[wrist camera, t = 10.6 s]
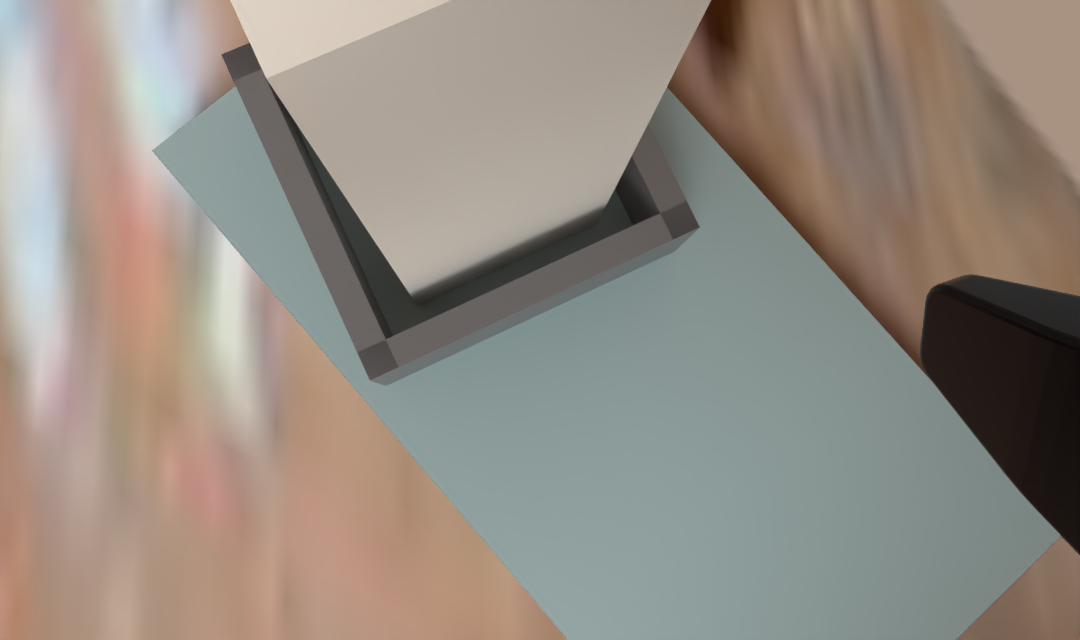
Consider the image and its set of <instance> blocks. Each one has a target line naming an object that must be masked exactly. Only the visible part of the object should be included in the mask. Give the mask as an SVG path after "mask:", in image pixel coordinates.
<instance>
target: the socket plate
mask: <svg viewBox="0 0 1080 640" xmlns="http://www.w3.org/2000/svg"><path fill="white" fill-rule="evenodd" d="M222 57H223V59H224V61H225V63H226V66H227V68H228V70H229V72H230V74H231V77H232V79H233V81H234V83H235V85H236V86H235V87H233V88H232V89H231V90H230V91H228V92H227V93H226V94H224V95H223V96H222V97H221V98H219V99H218V100H217V101H215V102H214V103H213V104H212V105H210V106H209V107H208V108H206V109H205V110H204V111H202V112H201V113H200V114H199V115H197V116H196V117H195V118H193V119H192V120H191V121H190V122H188V123H187V124H186V125H184V126H183V127H182V128H181V129H179V130H178V131H177V132H175V133H174V134H173V135H172V136H170V137H169V138H168V139H166V140H165V141H164V142H163V143H161V144H160V145H159V146H157V147H156V148H155V149H154V150H152V151H153V152H154V153H155V155H156V156H157V157H158V158H159V159H160V161H161V162H162V163H163V164H164V165H165V166H166V168H167V169H168V170H169V171H170V172H171V173H172V175H173V176H174V177H175V178H176V179H177V181H178V182H179V183H180V184H181V185H182V186H183V188H184V189H185V190H186V191H187V192H188V193H189V195H190V196H191V197H192V198H193V199H194V201H195V202H196V203H197V204H198V205H199V206H200V208H201V209H202V210H203V211H204V212H205V213H206V215H207V216H208V217H209V218H210V219H211V221H212V222H213V223H214V224H215V225H216V226H217V228H218V229H219V230H220V231H221V232H222V233H223V235H224V236H225V237H226V238H227V239H228V241H229V242H230V243H231V244H232V245H233V246H234V248H235V249H236V250H237V251H238V252H239V253H240V255H241V256H242V257H243V258H244V259H245V261H246V262H247V263H248V264H249V265H250V266H251V268H252V269H253V270H254V271H255V272H256V273H257V275H258V276H259V277H260V278H261V279H262V281H263V282H264V283H265V284H266V285H267V286H268V288H269V289H270V290H271V291H272V292H273V293H274V295H275V296H276V297H277V298H278V299H279V301H280V302H281V303H282V304H283V305H284V306H285V308H286V309H287V310H288V311H289V312H290V313H291V315H292V316H293V317H294V318H295V319H296V321H297V322H298V323H299V324H300V325H301V326H302V328H303V329H304V330H305V331H306V332H307V333H308V335H309V336H310V337H311V338H312V339H313V341H314V342H315V343H316V344H317V345H318V346H319V348H320V349H321V350H322V351H323V352H324V353H325V355H326V356H327V357H328V358H329V359H330V361H331V362H332V363H333V364H334V365H335V366H336V368H337V369H338V370H339V371H340V372H341V373H342V375H343V376H344V377H345V378H346V379H347V381H348V382H349V383H350V384H351V385H352V386H353V388H354V389H355V390H356V391H357V392H358V393H359V395H360V396H361V397H362V398H363V399H364V401H365V402H366V403H367V404H368V405H369V406H370V408H371V409H372V410H373V411H374V412H375V413H376V415H377V416H378V417H379V418H380V419H381V421H382V422H383V423H384V424H385V425H386V426H387V428H388V429H389V430H390V431H391V432H392V433H393V435H394V436H395V437H396V438H397V439H398V441H399V442H400V443H401V444H402V445H403V446H404V448H405V449H406V450H407V451H408V452H409V453H410V455H411V456H412V457H413V458H414V459H415V461H416V462H417V463H418V464H419V465H420V466H421V468H422V469H423V470H424V471H425V472H426V473H427V475H428V476H429V477H430V478H431V479H432V481H433V482H434V483H435V484H436V485H437V486H438V488H439V489H440V490H441V491H442V492H443V493H444V495H445V496H446V497H447V498H448V499H449V501H450V502H451V503H452V504H453V505H454V506H455V508H456V509H457V510H458V511H459V512H460V513H461V515H462V516H463V517H464V518H465V519H466V521H467V522H468V523H469V524H470V525H471V526H472V528H473V529H474V530H475V531H476V532H477V533H478V535H479V536H480V537H481V538H482V539H483V541H484V542H485V543H486V544H487V545H488V546H489V548H490V549H491V550H492V551H493V552H494V553H495V555H496V556H497V557H498V558H499V559H500V561H501V562H502V563H503V564H504V565H505V566H506V568H507V569H508V570H509V571H510V572H511V573H512V575H513V576H514V577H515V578H516V579H517V581H518V582H519V583H520V584H521V585H522V586H523V588H524V589H525V590H526V591H527V592H528V593H529V595H530V596H531V597H532V598H533V599H534V601H535V602H536V603H537V604H538V605H539V606H540V608H541V609H542V610H543V611H544V612H545V613H546V615H547V616H548V617H549V618H550V619H551V621H552V622H553V623H554V624H555V625H556V626H557V628H558V629H559V630H560V631H561V632H562V633H563V635H564V636H565V637H566V638H567V639H568V640H956V639H957V638H958V637H959V636H960V635H961V634H962V633H963V632H964V631H965V630H966V629H967V628H968V627H969V626H970V625H971V624H972V623H973V622H974V621H975V620H976V619H977V618H978V617H979V616H980V615H981V614H982V613H983V612H984V611H985V610H986V609H987V608H988V607H989V606H990V605H992V604H993V603H994V602H995V601H996V600H997V599H998V598H999V597H1000V596H1001V595H1002V594H1003V593H1004V592H1005V591H1006V590H1007V589H1008V588H1009V587H1010V586H1011V585H1012V584H1013V583H1014V582H1015V581H1016V580H1017V579H1018V578H1019V577H1020V576H1021V575H1022V574H1023V573H1024V572H1025V571H1026V570H1027V569H1028V568H1029V567H1030V566H1031V565H1032V564H1033V563H1034V562H1035V561H1036V560H1037V559H1038V558H1039V557H1040V556H1041V555H1042V554H1043V553H1044V552H1045V551H1046V550H1047V549H1048V548H1049V547H1050V546H1051V545H1052V544H1053V543H1054V542H1055V541H1056V540H1057V539H1058V538H1059V537H1060V536H1061V535H1060V534H1059V533H1058V532H1057V531H1056V530H1055V529H1054V528H1053V527H1052V526H1051V525H1050V524H1049V523H1048V522H1047V521H1046V520H1045V519H1044V517H1043V516H1042V515H1041V514H1040V513H1039V512H1038V511H1037V510H1036V509H1035V508H1034V507H1033V506H1032V505H1031V504H1030V503H1029V501H1028V500H1027V499H1026V498H1025V497H1024V496H1023V495H1022V494H1021V493H1020V492H1019V490H1018V489H1017V488H1016V487H1015V486H1014V484H1013V483H1012V482H1011V481H1010V480H1009V478H1008V477H1007V476H1006V475H1005V474H1004V472H1003V471H1002V470H1001V469H1000V467H999V466H998V465H997V463H996V462H995V461H994V460H993V458H992V457H991V456H990V455H989V453H988V452H987V451H986V449H985V448H984V447H983V446H982V444H981V443H980V442H979V441H978V439H977V438H976V437H975V436H974V434H973V433H972V432H971V430H970V429H969V428H968V427H967V425H966V424H965V423H964V422H963V420H962V419H961V418H960V416H959V415H958V414H957V413H956V411H955V410H954V409H953V408H952V406H951V405H950V404H949V402H948V401H947V400H946V399H945V397H944V396H943V395H942V394H941V392H940V391H939V390H938V388H937V387H936V386H935V385H934V383H933V382H932V381H931V380H930V379H929V378H928V377H927V376H926V374H925V373H924V372H923V371H922V370H921V369H920V368H919V367H918V366H917V364H916V363H915V362H914V361H913V360H912V359H911V358H910V357H909V356H908V354H907V353H906V352H905V351H904V350H903V349H902V348H901V347H900V345H899V344H898V343H897V342H896V341H895V340H894V339H893V338H892V337H891V335H890V334H889V333H888V332H887V331H886V330H885V329H884V328H883V327H882V325H881V324H880V323H879V322H878V321H877V320H876V319H875V318H874V317H873V315H872V314H871V313H870V312H869V311H868V310H867V309H866V308H865V307H864V305H863V304H862V303H861V302H860V301H859V300H858V299H857V298H856V297H855V295H854V294H853V293H852V292H851V291H850V290H849V289H848V288H847V287H846V285H845V284H844V283H843V282H842V281H841V280H840V279H839V278H838V277H837V275H836V274H835V273H834V272H833V271H832V270H831V269H830V268H829V267H828V265H827V264H826V263H825V262H824V261H823V260H822V259H821V258H820V257H819V255H818V254H817V253H816V252H815V251H814V250H813V249H812V248H811V247H810V245H809V244H808V243H807V242H806V241H805V240H804V239H803V238H802V236H801V235H800V234H799V233H798V232H797V231H796V230H795V229H794V228H793V226H792V225H791V224H790V223H789V222H788V221H787V220H786V219H785V218H784V216H783V215H782V214H781V213H780V212H779V211H778V210H777V209H776V208H775V206H774V205H773V204H772V203H771V202H770V201H769V200H768V199H767V198H766V196H765V195H764V194H763V193H762V192H761V191H760V190H759V189H758V188H757V186H756V185H755V184H754V183H753V182H752V181H751V180H750V179H749V178H748V176H747V175H746V174H745V173H744V172H743V171H742V170H741V169H740V168H739V166H738V165H737V164H736V163H735V162H734V161H733V160H732V159H731V158H730V156H729V155H728V154H727V153H726V152H725V151H724V150H723V149H722V148H721V146H720V145H719V144H718V143H717V142H716V141H715V140H714V139H713V138H712V136H711V135H710V134H709V133H708V132H707V131H706V130H705V129H704V127H703V126H702V125H701V124H700V123H699V122H698V121H697V120H696V119H695V117H694V116H693V115H692V114H691V113H690V112H689V111H688V110H687V109H686V107H685V106H684V105H683V104H682V103H681V102H680V101H679V100H678V99H677V97H676V96H675V95H674V94H673V93H672V92H671V91H670V90H669V89H668V87H667V88H666V90H665V92H664V94H663V96H662V98H661V100H660V101H659V103H658V105H657V107H656V109H655V111H654V113H653V115H652V117H651V119H650V121H649V123H648V125H647V127H646V129H645V131H644V133H643V135H642V137H641V139H640V141H639V143H638V145H637V147H636V148H635V150H634V152H633V154H632V156H631V158H630V160H629V162H628V164H627V166H626V168H625V170H624V172H623V174H622V176H621V178H620V180H619V182H618V184H617V186H616V188H615V190H614V192H613V194H612V195H611V197H610V199H609V201H608V203H607V205H606V207H605V209H604V211H603V213H602V215H601V217H600V219H599V221H598V223H597V224H595V225H593V226H591V227H589V228H586V229H584V230H582V231H580V232H578V233H576V234H573V235H571V236H569V237H567V238H565V239H562V240H560V241H558V242H556V243H554V244H552V245H549V246H547V247H545V248H543V249H541V250H538V251H536V252H534V253H532V254H530V255H528V256H525V257H523V258H521V259H519V260H517V261H514V262H512V263H510V264H508V265H506V266H503V267H501V268H499V269H497V270H495V271H493V272H490V273H488V274H486V275H484V276H482V277H479V278H477V279H475V280H473V281H471V282H469V283H466V284H464V285H462V286H460V287H458V288H455V289H453V290H451V291H449V292H447V293H445V294H442V295H440V296H438V297H436V298H434V299H431V300H429V301H427V302H425V303H423V304H420V305H418V306H417V304H416V303H415V301H414V300H413V298H412V297H411V295H410V294H409V292H408V291H407V289H406V288H405V286H404V285H403V283H402V282H401V280H400V279H399V277H398V276H397V274H396V273H395V271H394V270H393V268H392V267H391V265H390V264H389V262H388V261H387V259H386V258H385V256H384V255H383V253H382V252H381V250H380V249H379V247H378V246H377V244H376V243H375V241H374V240H373V238H372V237H371V235H370V234H369V232H368V231H367V229H366V228H365V226H364V225H363V223H362V222H361V220H360V219H359V217H358V216H357V214H356V213H355V211H354V210H353V208H352V207H351V205H350V204H349V202H348V201H347V199H346V198H345V196H344V195H343V193H342V192H341V190H340V189H339V187H338V186H337V184H336V183H335V181H334V180H333V178H332V177H331V175H330V174H329V172H328V171H327V169H326V168H325V166H324V165H323V163H322V162H321V160H320V159H319V157H318V156H317V154H316V153H315V151H314V150H313V148H312V147H311V145H310V144H309V142H308V141H307V139H306V138H305V136H304V134H303V133H302V131H301V130H300V128H299V127H298V125H297V124H296V122H295V121H294V119H293V118H292V116H291V115H290V113H289V112H288V110H287V109H286V107H285V106H284V104H283V103H282V101H281V100H280V98H279V97H278V95H277V94H276V92H275V91H274V89H273V88H272V86H271V85H270V83H269V82H268V80H267V79H266V77H265V75H264V72H263V70H262V68H261V66H260V64H259V62H258V59H257V57H256V55H255V53H254V51H253V48H252V46H251V44H250V43H248V44H246V45H243V46H241V47H239V48H236V49H234V50H231V51H229V52H227V53H224V54H222Z"/></svg>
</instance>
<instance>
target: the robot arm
mask: <svg viewBox="0 0 1080 640" xmlns="http://www.w3.org/2000/svg"><path fill="white" fill-rule="evenodd" d="M920 356H921V362H922V365H923V368H924V370H925V372H926V374H927V375H928V377H929V378H930V380H931V381H932V382H933V383H934V385H935V386H936V387H937V388H938V390H939V391H940V392H941V394H942V395H943V396H944V397H945V399H946V400H947V401H948V402H949V404H950V405H951V406H952V408H953V409H954V410H955V411H956V413H957V414H958V415H959V416H960V418H961V419H962V420H963V422H964V423H965V424H966V425H967V427H968V428H969V429H970V430H971V432H972V433H973V434H974V436H975V437H976V438H977V439H978V441H979V442H980V443H981V444H982V446H983V447H984V448H985V449H986V451H987V452H988V453H989V455H990V456H991V457H992V458H993V460H994V461H995V462H996V463H997V465H998V466H999V467H1000V469H1001V470H1002V471H1003V472H1004V474H1005V475H1006V476H1007V477H1008V478H1009V480H1010V481H1011V482H1012V483H1013V484H1014V486H1015V487H1016V488H1017V489H1018V490H1019V492H1020V493H1021V494H1022V495H1023V496H1024V497H1025V498H1026V499H1027V500H1028V501H1029V503H1030V504H1031V505H1032V506H1033V507H1034V508H1035V509H1036V510H1037V511H1038V512H1039V513H1040V514H1041V515H1042V516H1043V517H1044V519H1045V520H1046V521H1047V522H1048V523H1049V524H1050V525H1051V526H1052V527H1053V528H1054V529H1055V530H1056V531H1057V532H1058V533H1059V534H1060V535H1061V536H1062V537H1063V538H1064V539H1065V540H1066V541H1067V542H1068V543H1069V545H1070V546H1071V547H1072V548H1073V549H1074V550H1075V551H1076V552H1077V553H1078V554H1079V555H1080V296H1076V295H1072V294H1067V293H1062V292H1057V291H1052V290H1047V289H1043V288H1038V287H1033V286H1028V285H1023V284H1018V283H1013V282H1009V281H1004V280H999V279H994V278H989V277H984V276H979V275H973V274H972V275H964V276H960V277H957V278H954V279H952V280H949V281H946V282H943V283H940V284H938V285H936V286H934V287H933V288H932V289H931V290H930V292H929V293H928V295H927V297H926V302H925V311H924V320H923V329H922V338H921V347H920Z"/></svg>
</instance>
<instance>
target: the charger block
mask: <svg viewBox="0 0 1080 640" xmlns="http://www.w3.org/2000/svg"><path fill="white" fill-rule="evenodd" d="M230 1H231V3H232V5H233V7H234V9H235V11H236V14H237V16H238V18H239V20H240V22H241V25H242V27H243V29H244V31H245V33H246V35H247V38H248V40H249V42H250V44H251V46H252V48H253V51H254V53H255V55H256V57H257V59H258V62H259V64H260V66H261V68H262V70H263V72H264V75H265V77H266V79H267V80H268V82H269V83H270V85H271V86H272V88H273V89H274V91H275V92H276V94H277V95H278V97H279V98H280V100H281V101H282V103H283V104H284V106H285V107H286V109H287V110H288V112H289V113H290V115H291V116H292V118H293V119H294V121H295V122H296V124H297V125H298V127H299V128H300V130H301V131H302V133H303V134H304V136H305V138H306V139H307V141H308V142H309V144H310V145H311V147H312V148H313V150H314V151H315V153H316V154H317V156H318V157H319V159H320V160H321V162H322V163H323V165H324V166H325V168H326V169H327V171H328V172H329V174H330V175H331V177H332V178H333V180H334V181H335V183H336V184H337V186H338V187H339V189H340V190H341V192H342V193H343V195H344V196H345V198H346V199H347V201H348V202H349V204H350V205H351V207H352V208H353V210H354V211H355V213H356V214H357V216H358V217H359V219H360V220H361V222H362V223H363V225H364V226H365V228H366V229H367V231H368V232H369V234H370V235H371V237H372V238H373V240H374V241H375V243H376V244H377V246H378V247H379V249H380V250H381V252H382V253H383V255H384V256H385V258H386V259H387V261H388V262H389V264H390V265H391V267H392V268H393V270H394V271H395V273H396V274H397V276H398V277H399V279H400V280H401V282H402V283H403V285H404V286H405V288H406V289H407V291H408V292H409V294H410V295H411V297H412V298H413V300H414V301H415V303H416V304H417V306H418V305H420V304H423V303H425V302H427V301H429V300H431V299H434V298H436V297H438V296H440V295H442V294H445V293H447V292H449V291H451V290H453V289H455V288H458V287H460V286H462V285H464V284H466V283H469V282H471V281H473V280H475V279H477V278H479V277H482V276H484V275H486V274H488V273H490V272H493V271H495V270H497V269H499V268H501V267H503V266H506V265H508V264H510V263H512V262H514V261H517V260H519V259H521V258H523V257H525V256H528V255H530V254H532V253H534V252H536V251H538V250H541V249H543V248H545V247H547V246H549V245H552V244H554V243H556V242H558V241H560V240H562V239H565V238H567V237H569V236H571V235H573V234H576V233H578V232H580V231H582V230H584V229H586V228H589V227H591V226H593V225H595V224H597V223H598V221H599V219H600V217H601V215H602V213H603V211H604V209H605V207H606V205H607V203H608V201H609V199H610V197H611V195H612V194H613V192H614V190H615V188H616V186H617V184H618V182H619V180H620V178H621V176H622V174H623V172H624V170H625V168H626V166H627V164H628V162H629V160H630V158H631V156H632V154H633V152H634V150H635V148H636V147H637V145H638V143H639V141H640V139H641V137H642V135H643V133H644V131H645V129H646V127H647V125H648V123H649V121H650V119H651V117H652V115H653V113H654V111H655V109H656V107H657V105H658V103H659V101H660V100H661V98H662V96H663V94H664V92H665V90H666V88H667V86H668V84H669V82H670V80H671V78H672V76H673V74H674V72H675V70H676V68H677V66H678V64H679V62H680V60H681V58H682V56H683V54H684V52H685V51H686V49H687V47H688V45H689V43H690V41H691V39H692V37H693V35H694V33H695V31H696V29H697V27H698V25H699V23H700V21H701V19H702V17H703V15H704V13H705V11H706V9H707V7H708V5H709V4H710V2H711V0H230Z"/></svg>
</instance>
